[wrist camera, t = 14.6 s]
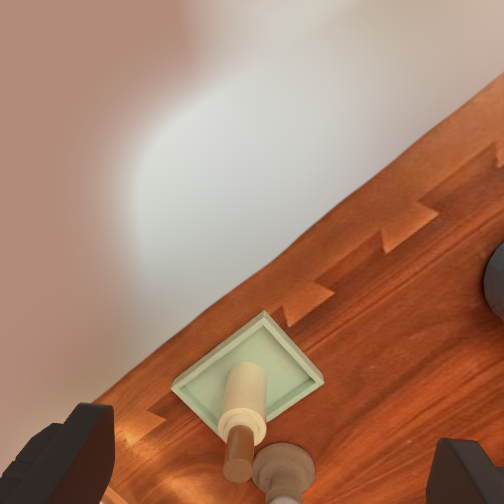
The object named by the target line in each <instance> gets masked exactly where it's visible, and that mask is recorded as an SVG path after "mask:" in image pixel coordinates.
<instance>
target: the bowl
mask: <svg viewBox="0 0 504 504" xmlns="http://www.w3.org/2000/svg"><path fill="white" fill-rule="evenodd" d="M484 292H485V298H486V300H487V302H488V304H489V306H490V308H491V310H492V312H493V313H495V314H496V315H497V316H498V317H499V318H500V319H501V320H502V321H503V322H504V242H503V243H502V244H501V245H500V246H499V247H498V248H497V249H496V251H495V253H494V254H493V256H492V257H491V259H490V261H489V262H488V265H487V269H486V273H485V277H484Z"/></svg>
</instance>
